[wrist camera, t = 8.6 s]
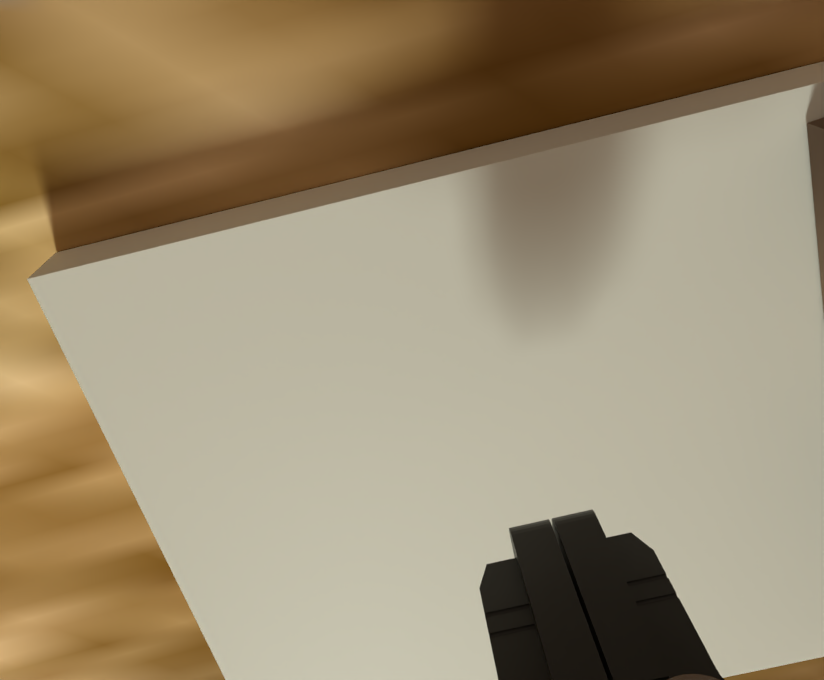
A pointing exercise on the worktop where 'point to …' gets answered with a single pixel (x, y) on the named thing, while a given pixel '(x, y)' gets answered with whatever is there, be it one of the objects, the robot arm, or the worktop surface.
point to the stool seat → (478, 385)
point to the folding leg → (818, 185)
